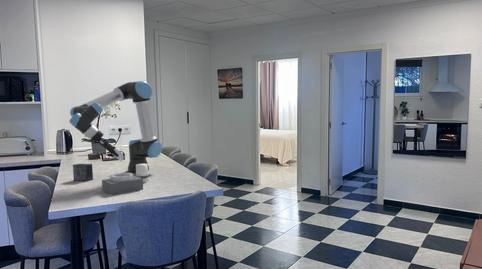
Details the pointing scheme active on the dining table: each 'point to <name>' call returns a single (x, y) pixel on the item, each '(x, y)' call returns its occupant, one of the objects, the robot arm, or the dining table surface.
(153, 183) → the dining table surface
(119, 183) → the octagonal socket base
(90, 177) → the small box
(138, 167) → the white glossy rounded part
